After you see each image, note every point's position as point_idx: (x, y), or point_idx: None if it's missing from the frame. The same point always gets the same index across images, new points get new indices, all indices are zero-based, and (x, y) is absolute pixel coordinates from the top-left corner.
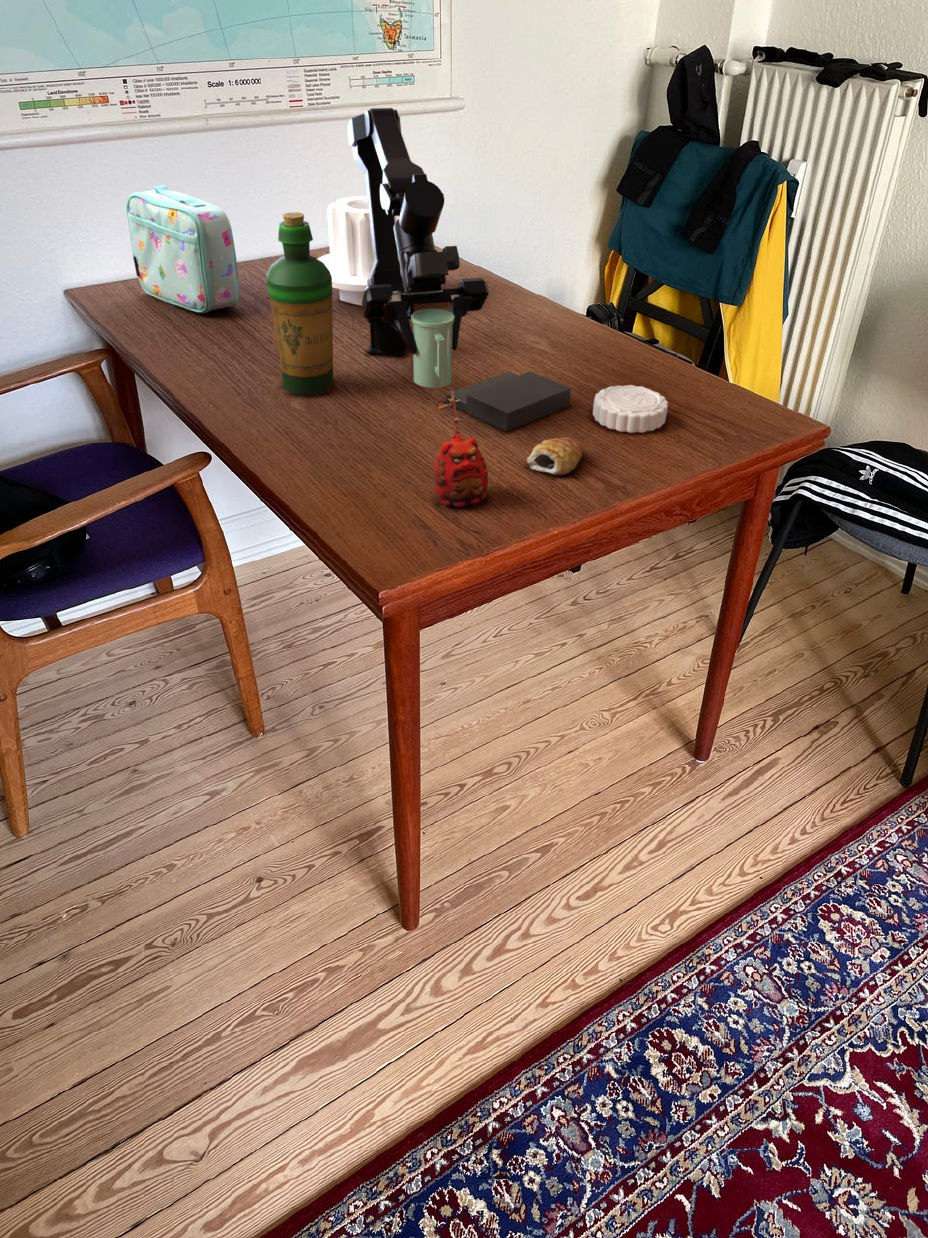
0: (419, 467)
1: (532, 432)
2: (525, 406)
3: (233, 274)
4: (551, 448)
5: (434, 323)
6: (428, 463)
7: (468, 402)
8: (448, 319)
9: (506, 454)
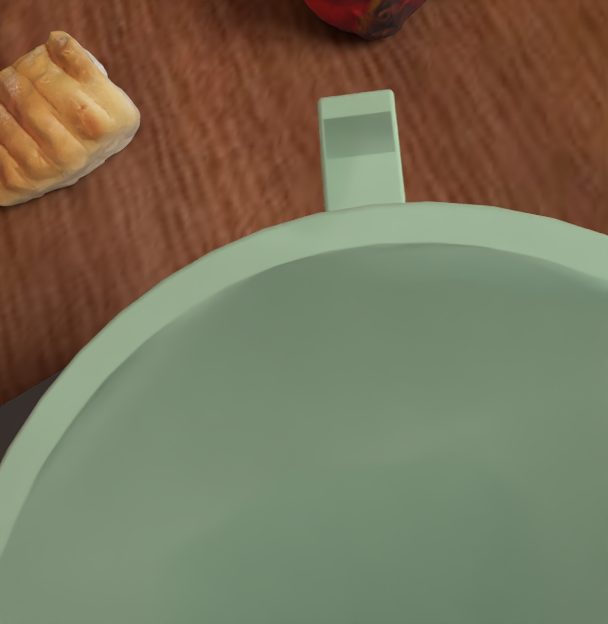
0: (461, 162)
1: (53, 341)
2: (8, 401)
3: None
4: (52, 71)
5: (448, 214)
6: (429, 183)
7: None
8: (123, 407)
9: (179, 210)
